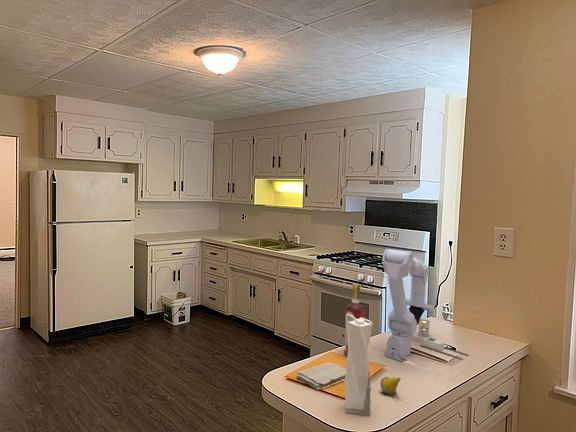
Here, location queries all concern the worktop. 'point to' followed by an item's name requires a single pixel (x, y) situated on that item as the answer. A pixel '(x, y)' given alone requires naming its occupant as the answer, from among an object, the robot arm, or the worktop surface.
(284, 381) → the worktop surface
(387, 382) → the yellow pear
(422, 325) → the marbled round peg
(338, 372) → the washcloth
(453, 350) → the board
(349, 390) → the skyscraper
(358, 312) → the liquor
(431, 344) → the block
